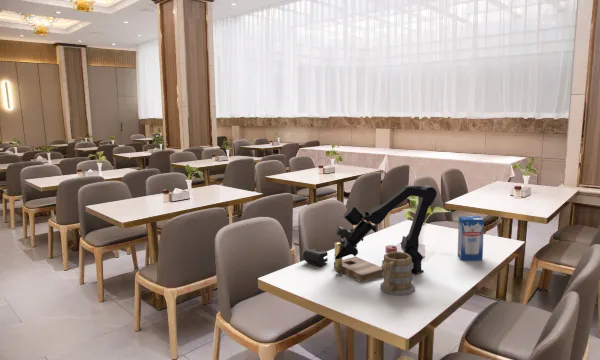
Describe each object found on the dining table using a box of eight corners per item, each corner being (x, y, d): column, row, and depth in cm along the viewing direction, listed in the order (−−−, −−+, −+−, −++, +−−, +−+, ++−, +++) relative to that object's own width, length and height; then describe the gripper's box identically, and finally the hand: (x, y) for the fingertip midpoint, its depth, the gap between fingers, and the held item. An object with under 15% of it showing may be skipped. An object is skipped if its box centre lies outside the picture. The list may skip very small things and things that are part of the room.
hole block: (384, 275, 189) (384, 268, 188) (362, 281, 182) (362, 275, 181) (355, 262, 205) (355, 256, 205) (334, 268, 199) (333, 262, 198)
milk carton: (478, 256, 209) (479, 216, 206) (482, 260, 203) (484, 219, 200) (457, 256, 210) (458, 216, 207) (460, 260, 204) (462, 219, 201)
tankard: (390, 280, 183) (390, 246, 180) (418, 287, 175) (419, 251, 172) (366, 296, 167) (366, 259, 165) (396, 304, 159) (396, 266, 157)
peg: (343, 271, 191) (343, 243, 189) (338, 273, 189) (337, 244, 187) (339, 269, 193) (338, 241, 191) (333, 271, 192) (333, 243, 190)
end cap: (303, 263, 206) (302, 250, 205) (312, 260, 211) (312, 246, 210) (318, 268, 199) (318, 254, 198) (328, 264, 204) (328, 250, 203)
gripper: (343, 215, 197) (320, 239, 198) (349, 225, 179) (324, 252, 180) (361, 231, 198) (337, 255, 200) (368, 243, 180) (343, 269, 181)
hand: (335, 257), depth 190 cm, fingers closed on peg, 3 cm apart
